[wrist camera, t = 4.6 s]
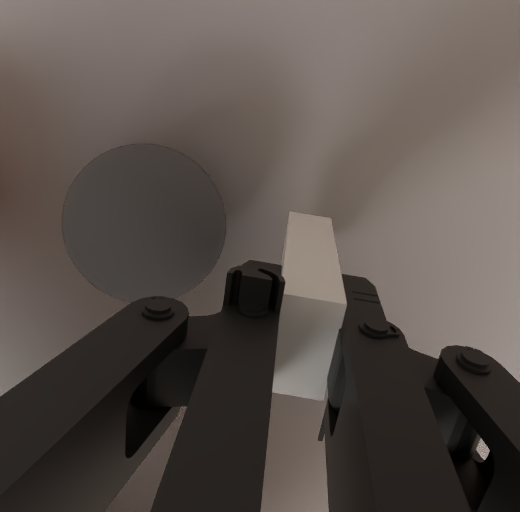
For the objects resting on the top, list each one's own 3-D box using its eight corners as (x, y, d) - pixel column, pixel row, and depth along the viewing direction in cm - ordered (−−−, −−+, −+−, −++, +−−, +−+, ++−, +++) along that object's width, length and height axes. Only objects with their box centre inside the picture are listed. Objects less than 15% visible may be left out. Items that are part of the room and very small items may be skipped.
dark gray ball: (227, 334, 15) (200, 266, 20) (258, 176, 13) (219, 143, 18) (50, 334, 13) (66, 259, 18) (54, 150, 11) (71, 120, 16)
